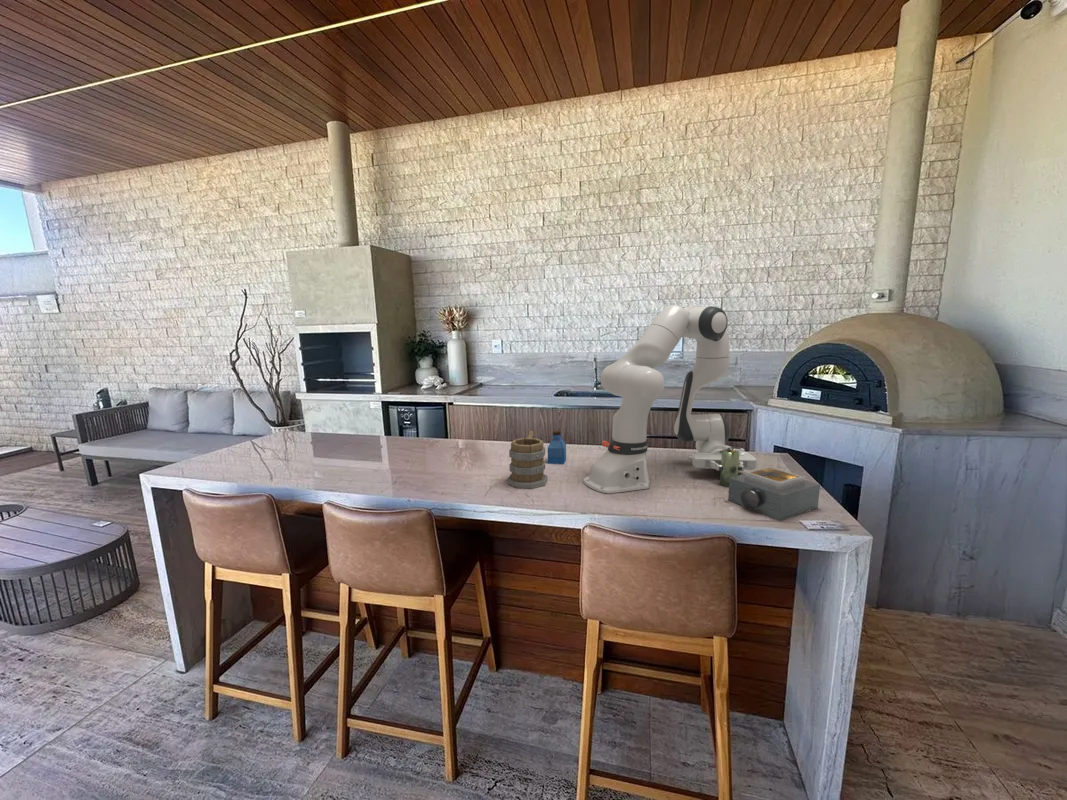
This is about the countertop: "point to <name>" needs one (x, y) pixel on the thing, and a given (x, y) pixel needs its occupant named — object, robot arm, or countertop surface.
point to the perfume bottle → (557, 449)
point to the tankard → (527, 463)
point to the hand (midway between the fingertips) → (730, 468)
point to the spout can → (729, 465)
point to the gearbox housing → (774, 492)
